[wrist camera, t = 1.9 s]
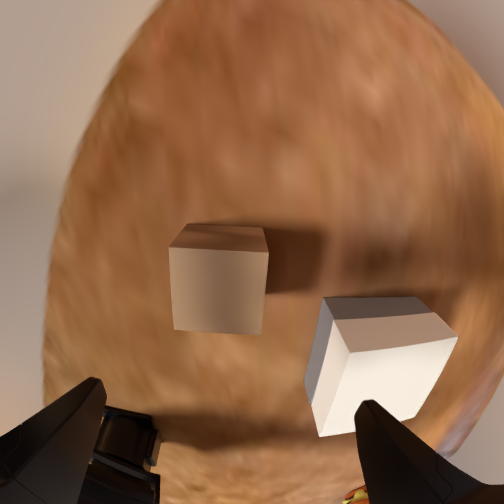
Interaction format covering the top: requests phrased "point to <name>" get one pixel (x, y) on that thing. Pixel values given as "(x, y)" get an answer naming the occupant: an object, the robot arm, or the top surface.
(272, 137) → the top surface
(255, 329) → the walnut block
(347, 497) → the cheeseburger
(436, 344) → the tower top slab
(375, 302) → the tower base slab
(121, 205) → the top surface
